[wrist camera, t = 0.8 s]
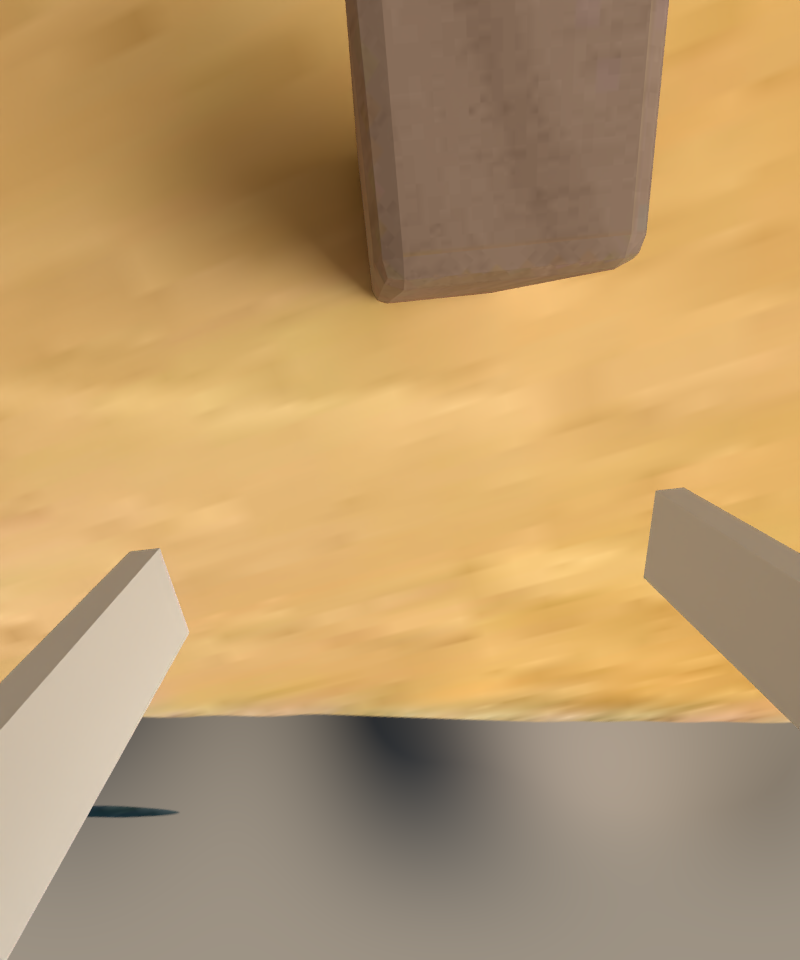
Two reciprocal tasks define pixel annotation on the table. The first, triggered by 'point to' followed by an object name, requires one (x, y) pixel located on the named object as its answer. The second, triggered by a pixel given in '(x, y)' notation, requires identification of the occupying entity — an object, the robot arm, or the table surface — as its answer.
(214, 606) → the table surface
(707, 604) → the robot arm
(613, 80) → the wooden block
